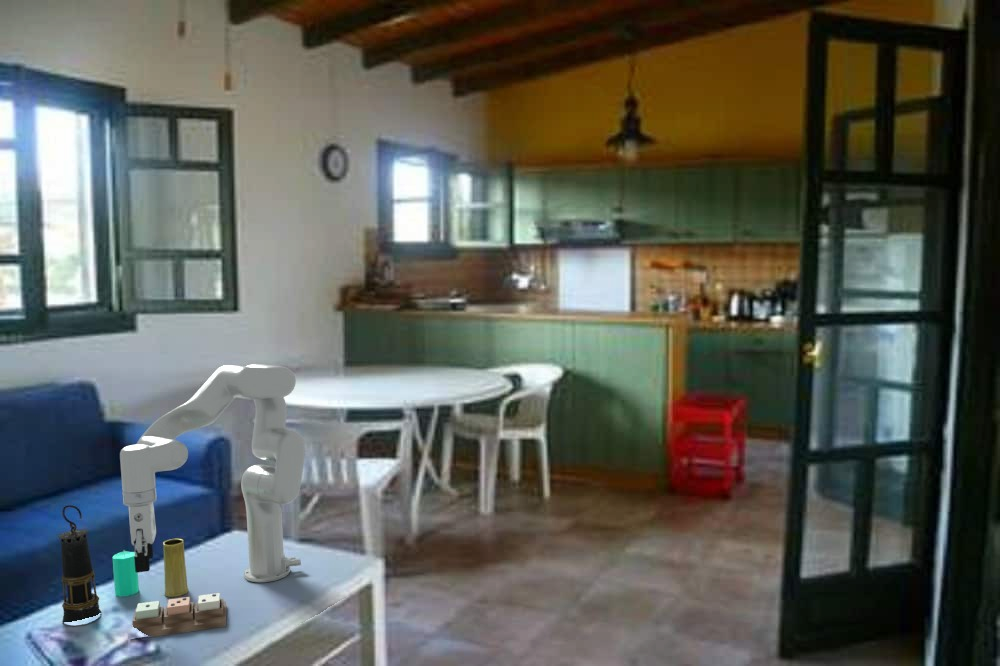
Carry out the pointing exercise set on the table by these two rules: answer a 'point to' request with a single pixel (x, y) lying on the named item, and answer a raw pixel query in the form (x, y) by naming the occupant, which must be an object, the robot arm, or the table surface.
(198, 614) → the tile board
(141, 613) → the tile one dot
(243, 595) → the table surface
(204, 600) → the tile two dots
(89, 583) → the lantern
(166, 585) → the vase
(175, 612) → the tile three dots
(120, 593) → the candle
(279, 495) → the robot arm
